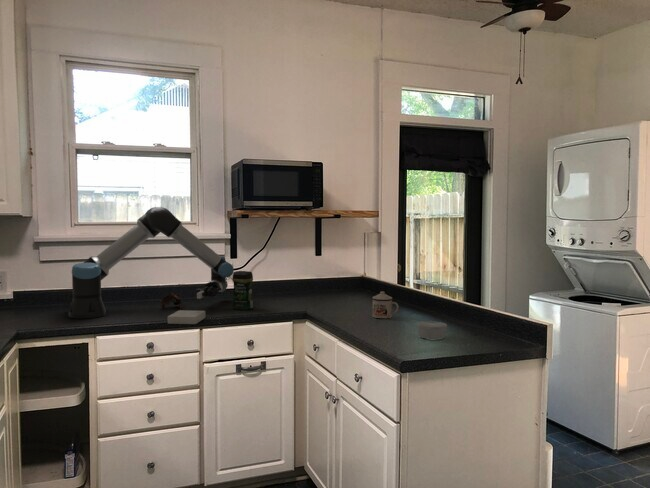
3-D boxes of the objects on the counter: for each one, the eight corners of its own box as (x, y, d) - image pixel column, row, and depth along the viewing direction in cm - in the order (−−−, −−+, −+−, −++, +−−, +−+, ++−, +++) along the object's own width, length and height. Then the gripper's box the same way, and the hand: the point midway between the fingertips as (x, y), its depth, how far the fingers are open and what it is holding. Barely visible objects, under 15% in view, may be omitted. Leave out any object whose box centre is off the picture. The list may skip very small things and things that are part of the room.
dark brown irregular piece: (181, 310, 244) (171, 296, 242) (164, 318, 246) (155, 304, 244) (188, 300, 256) (179, 287, 254) (172, 308, 257) (163, 294, 255)
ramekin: (442, 334, 195) (442, 320, 195) (450, 341, 184) (450, 327, 184) (413, 334, 195) (413, 320, 195) (420, 341, 184) (420, 327, 184)
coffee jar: (230, 309, 245) (229, 271, 244) (237, 307, 252) (237, 269, 251) (248, 310, 242) (248, 272, 241) (255, 308, 249) (255, 270, 248)
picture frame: (179, 317, 227) (167, 324, 213) (178, 310, 226) (167, 316, 212) (205, 318, 226) (195, 325, 212) (205, 310, 226) (195, 316, 212)
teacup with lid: (369, 318, 225) (369, 292, 224) (376, 314, 233) (376, 289, 233) (395, 320, 220) (395, 294, 219) (401, 317, 228) (401, 291, 227)
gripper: (225, 296, 257) (212, 304, 234) (200, 295, 258) (184, 303, 235) (225, 281, 257) (212, 287, 233) (200, 281, 258) (184, 287, 234)
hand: (198, 295), depth 234 cm, fingers closed
